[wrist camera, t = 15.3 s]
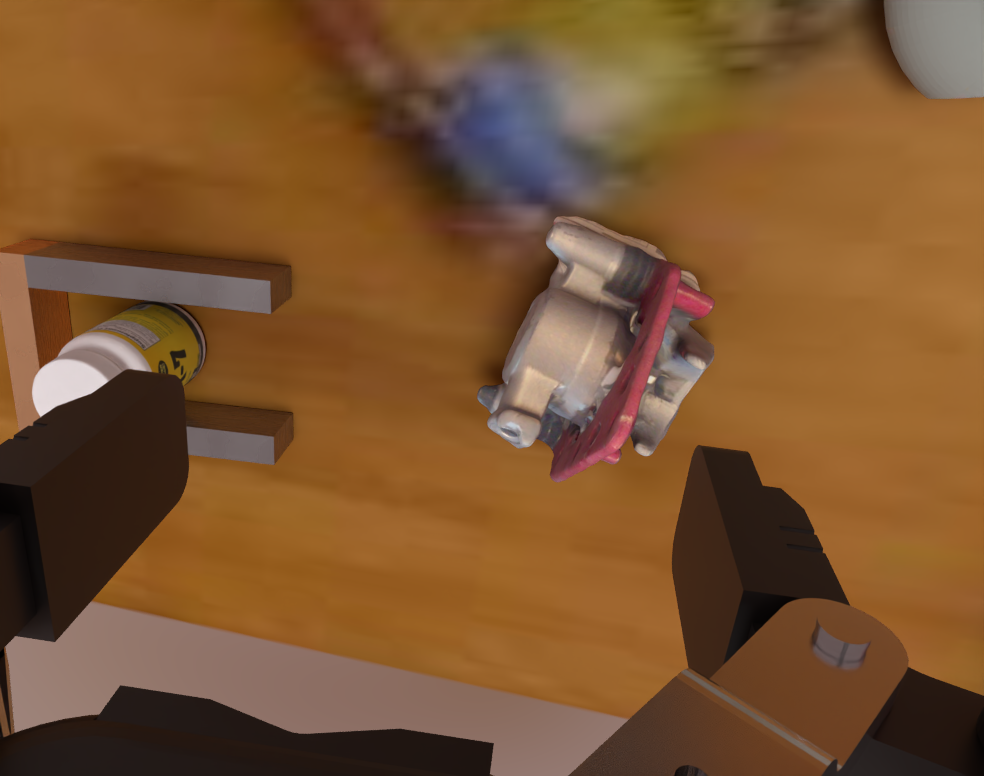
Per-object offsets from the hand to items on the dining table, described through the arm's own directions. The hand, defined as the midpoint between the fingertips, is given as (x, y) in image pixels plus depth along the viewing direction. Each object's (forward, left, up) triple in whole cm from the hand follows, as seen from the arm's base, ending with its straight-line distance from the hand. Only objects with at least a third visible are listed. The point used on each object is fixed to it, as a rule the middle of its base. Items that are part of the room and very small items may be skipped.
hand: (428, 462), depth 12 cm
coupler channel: (+9, -17, -28) cm, 34 cm away
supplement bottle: (+9, -18, -28) cm, 34 cm away
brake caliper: (+7, +4, -28) cm, 29 cm away
